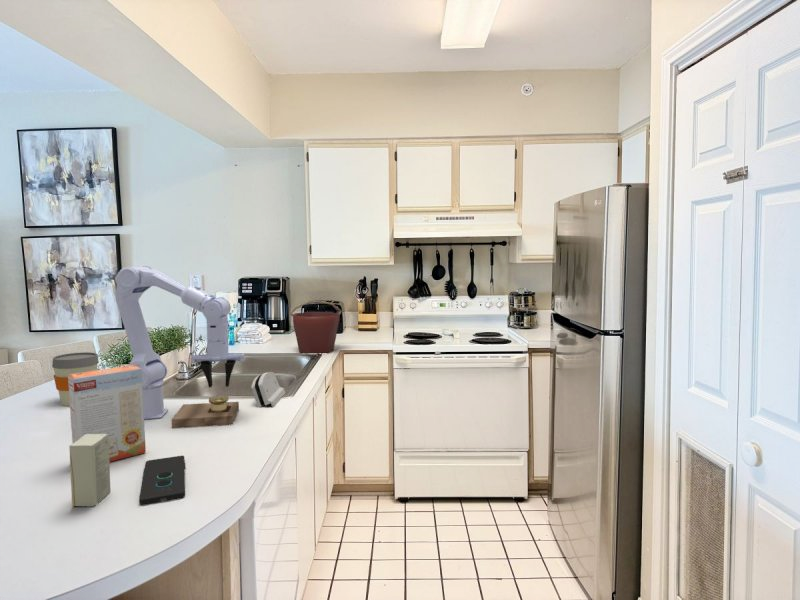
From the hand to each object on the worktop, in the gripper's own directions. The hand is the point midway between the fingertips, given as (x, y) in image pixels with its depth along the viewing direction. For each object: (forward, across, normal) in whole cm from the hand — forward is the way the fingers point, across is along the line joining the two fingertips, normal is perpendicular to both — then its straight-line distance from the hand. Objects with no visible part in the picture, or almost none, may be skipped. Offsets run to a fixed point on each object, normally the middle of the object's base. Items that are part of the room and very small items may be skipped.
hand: (219, 386), depth 145 cm
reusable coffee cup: (+10, -48, +25) cm, 55 cm away
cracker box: (+10, -20, -26) cm, 34 cm away
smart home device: (+10, -5, -41) cm, 42 cm away
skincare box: (+10, -16, -47) cm, 51 cm away
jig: (+9, -4, 0) cm, 10 cm away
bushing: (+9, 0, 0) cm, 9 cm away
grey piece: (+10, +13, +16) cm, 23 cm away
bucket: (+10, +31, +98) cm, 103 cm away
